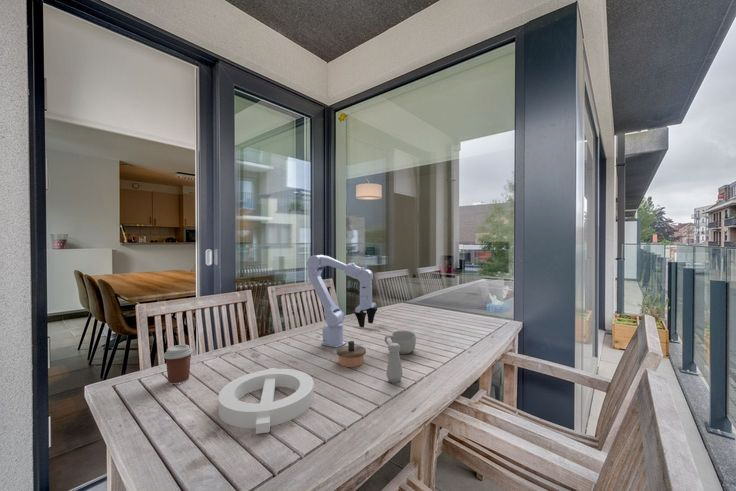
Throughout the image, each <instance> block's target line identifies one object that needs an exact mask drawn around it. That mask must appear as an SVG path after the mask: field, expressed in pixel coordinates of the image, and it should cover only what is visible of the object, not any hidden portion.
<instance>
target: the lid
mask: <svg viewBox="0 0 736 491" xmlns="http://www.w3.org/2000/svg"><path fill="white" fill-rule="evenodd" d="M347 343H348V345H342V346H340V347H338V348H336V355H337V356H338V357H339V356H341V357H346V358H355V357H360V356H363V357H364V356H365V355H366V353H367V349H366V347H364V346H361V345H356V344H355V341H354V340H349V341H347Z"/></svg>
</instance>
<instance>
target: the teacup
mask: <svg viewBox="0 0 736 491" xmlns="http://www.w3.org/2000/svg"><path fill="white" fill-rule="evenodd" d="M388 338H389V339H390V340H391V343H397V344H399V345H400V351H399V355H400V354H401V355H407V354H411V353H412V352H413V351H414V350H415V349H416V344H417V343H416V341H417V339H416V338H417V334H416V333H415V332H414V331H413V332H412V331H410V330H396V331H393V332H392V333H391V334H386V336H384V342H385V344H386V345H387V346H388V345H389V344H390V342H389V341H388Z"/></svg>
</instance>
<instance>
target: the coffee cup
mask: <svg viewBox="0 0 736 491" xmlns="http://www.w3.org/2000/svg"><path fill="white" fill-rule="evenodd" d="M193 353H194V351H193V348H191V347H190V345H188V344H177V345H173V346H170V347H168V348H167V349H166V352H164V353H163V356H162V357H163V359H165V364H166V371H167V381H168V383H169V385H170V384H178V385H180V384H179V383H182V384H184V383H183V382H185V383H187V382H189V380H190V372H191V371H190V369H191V356H192V354H193ZM186 381H187V382H186Z"/></svg>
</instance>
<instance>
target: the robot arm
mask: <svg viewBox="0 0 736 491" xmlns="http://www.w3.org/2000/svg"><path fill="white" fill-rule="evenodd" d="M306 266H307V277H308V279H309V280H310V283H311V285H312V286H313V289H314V291H315V293H316V295H317V297H318V300H319V301H320V303H321V305H322V307H323V309H324V310H323V316H324V318H325V325H324V326H323V328H322V343H321V345H322V346H326V347H332V348H336V349H338V348H340V347H343V346H345V345H347V343H348V341H344V324H343V321H344V320H345V316H346V315H345V313H344V311H342V310H341V309H340V307H339V306H338V305H337V304H335V301H334V299H333V298H332V296H331V294H330V292H329V290H328V288H327V286H326V284H325V282H324V280H323V278H322V276H321V274H322V273H323V270H324V269H325V268H326V267H327V266H328V267H331V268H335V269H337V270H340V271H343V273H344V275H345V276H348V277H351V278H352V279H356V280H358V281H359V305H358V306H357V307H355V310H354V312H353V313H354V315H355V317H356V319H357V322H358V326H359V328H365V323H366V317H367V323H368V324H374V320H375V315H376V313H377V311H378V308H377V302H373V282H372V280H373V278H374V273H373V271H372V270H370V269H369V268H366V269H365V267H364V266H363V267H360V266H358V265H356V263H354V262H352V263H351V262H350V263H347V264H346V263H344V262H342V261H339V260H337V259H335V258H333V257H331V256H329V255H324V254H322V253H321V254H316V255H315V254H314V255H311V256H309V257H308V259H307V261H306ZM364 311H365V312H364Z"/></svg>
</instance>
